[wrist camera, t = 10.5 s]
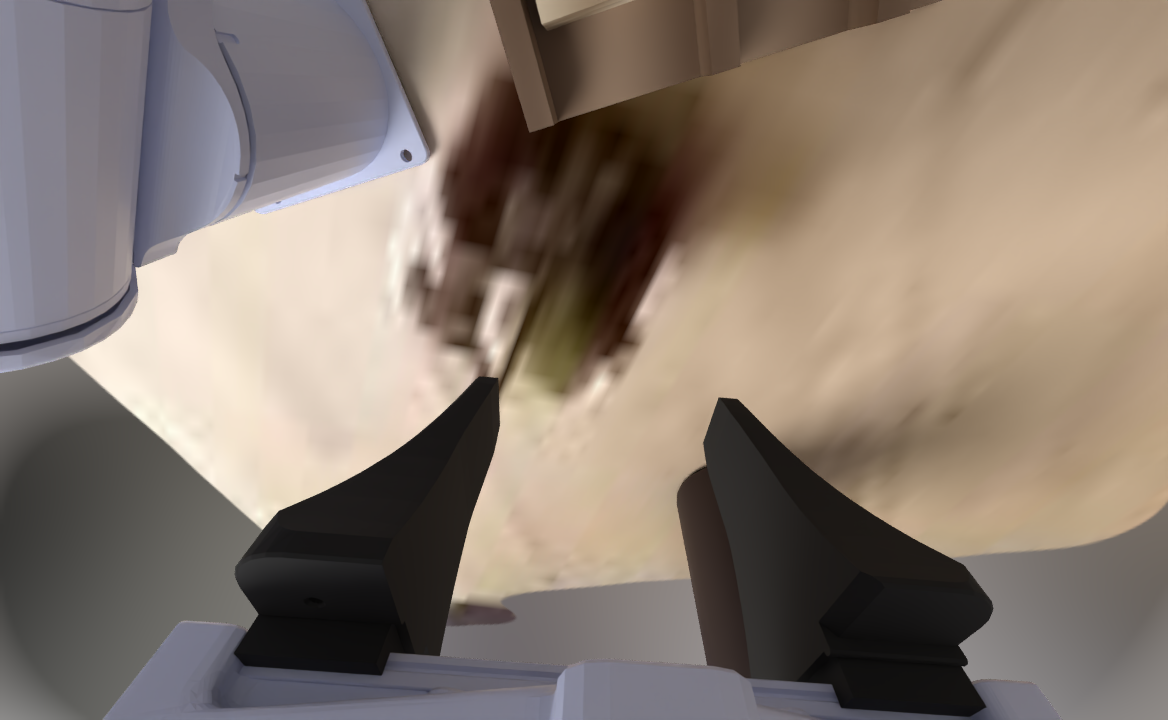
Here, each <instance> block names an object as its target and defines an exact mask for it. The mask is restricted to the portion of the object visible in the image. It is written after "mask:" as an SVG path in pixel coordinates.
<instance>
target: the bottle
mask: <svg viewBox="0 0 1168 720" xmlns="http://www.w3.org/2000/svg"><path fill="white" fill-rule="evenodd" d="M677 508H678V513H679V518H680V523H681V529H682V534H683V539H684V545H685V550H686V555H687V560H688V566H689V571H690V576H691V582H692V587H693V592H694V598H695V602H696V608H697V613H698V619H699V624H700V629H701V635H702V640H703V645H704V650H705V655H706V661H707V666H716V667H721V668H726V669H731V670H734V671H736V672H737V673H739V674H740V675H741V676H743V677H744V678H749V679H751V674H750V665H749V657H748V649H747V641H746V634H745V627H744V621H743V614H742V607H741V601H740V596H739V590H738V584H737V578H736V573H735V568H734V563H733V558H732V553H731V548H730V544H729V540H728V536H727V532H726V529H725V526H724V523H723V519H722V516H721V513H720V510H719V506H718V503H717V500H716V497H715V494H714V490H713V487H712V484H711V480H710V477H709V473H708V470H707V468H704V469H702V470H700V471H698V472H696V473H694V474H692V475H691V476H690V477H689V478H688V479H687V480H685V481H684V482H683V483H682V485H681V487H680V489H679V491H678V493H677Z"/></svg>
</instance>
